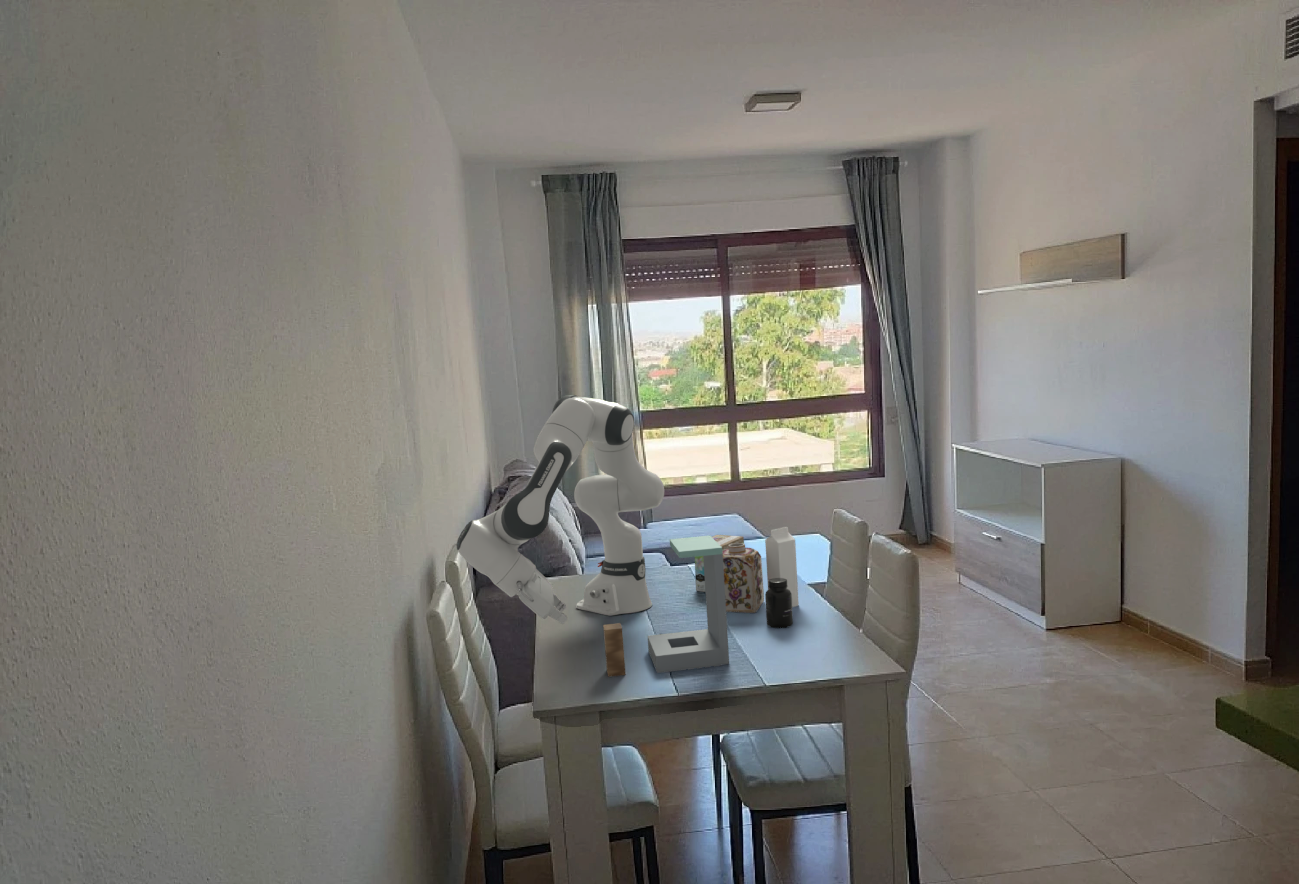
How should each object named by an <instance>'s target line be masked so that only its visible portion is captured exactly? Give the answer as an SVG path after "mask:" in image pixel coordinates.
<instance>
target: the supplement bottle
mask: <svg viewBox="0 0 1299 884" xmlns="http://www.w3.org/2000/svg"><path fill="white" fill-rule="evenodd" d="M768 587H769V588H770V589H769V590H768V589H767V590H766V591H765V593H764V599H765V617H766V618H765V619H766V624H767V626H768V627H769V628H773V629H786V628H790V627H791V626H792V625H793V623H794V620H793V619H794V618H793V616H794V615H793V607H792V594H791V591H790V590H788V589H787V587H788V585H787V579H784V578H773V579H769V585H768V584H767V588H768Z"/></svg>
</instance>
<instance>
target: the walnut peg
mask: <svg viewBox="0 0 1299 884" xmlns="http://www.w3.org/2000/svg"><path fill="white" fill-rule="evenodd" d="M602 626H603V627H602V628H603V639H604V640H603V641H604V654H605V664H606V672H607V673H606V674H607V677H608V678H609V677H618V676H619V677H621V676H625V675H626V664H625V663H626V662H625V661H626V659H625V650H624V647H625V646H624V635H623V634H624V633H623V627H622V624H621V622H618V623H608V624H603V625H602Z"/></svg>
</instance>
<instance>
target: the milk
mask: <svg viewBox="0 0 1299 884" xmlns="http://www.w3.org/2000/svg"><path fill="white" fill-rule="evenodd" d="M764 541H765V556H766V557H765V559H766V577H767V590H769V589H770V588H769V587H768V585H769V579H773V578H784V579H787V585H788V587H787V589H788V590H790V591H791V594H792V608H795V607H798V606H800V605H799V588H798V568H797V567H798V566H797V553H796V552H797V547H796V538H794V536H793V535H792V534H791V533H790V532H789V527H788V526H783V527H779V528H774V529H771V530H770V536H768V537H767V538H765V540H764Z"/></svg>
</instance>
